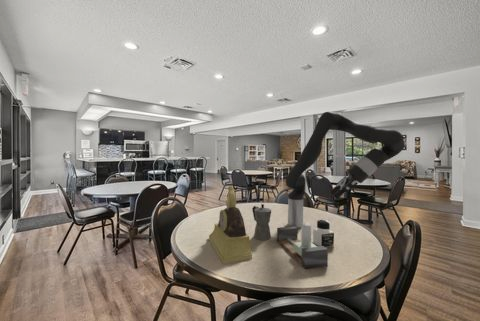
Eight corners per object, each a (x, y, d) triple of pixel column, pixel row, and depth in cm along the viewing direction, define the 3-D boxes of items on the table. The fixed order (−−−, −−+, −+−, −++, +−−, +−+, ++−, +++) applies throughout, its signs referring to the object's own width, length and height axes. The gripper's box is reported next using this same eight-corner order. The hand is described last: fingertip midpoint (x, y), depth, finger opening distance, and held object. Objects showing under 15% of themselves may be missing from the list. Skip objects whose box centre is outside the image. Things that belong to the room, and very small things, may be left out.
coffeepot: (277, 239, 114) (277, 205, 114) (263, 243, 109) (263, 208, 108) (259, 230, 127) (259, 200, 126) (246, 233, 122) (246, 202, 121)
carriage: (293, 249, 96) (293, 222, 96) (309, 247, 98) (309, 221, 97) (302, 257, 88) (302, 228, 88) (319, 255, 90) (320, 227, 90)
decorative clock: (209, 238, 114) (209, 183, 114) (231, 235, 119) (232, 182, 118) (223, 264, 88) (223, 191, 87) (252, 259, 92) (252, 190, 92)
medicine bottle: (321, 248, 103) (321, 223, 103) (312, 242, 110) (313, 219, 110) (334, 246, 105) (334, 222, 105) (324, 240, 112) (325, 218, 111)
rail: (277, 241, 111) (277, 227, 111) (294, 239, 114) (294, 226, 113) (305, 269, 84) (305, 251, 84) (327, 266, 86) (327, 249, 86)
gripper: (350, 163, 99) (324, 187, 102) (360, 164, 85) (329, 191, 88) (363, 174, 98) (336, 198, 101) (375, 177, 84) (343, 205, 87)
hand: (333, 195), depth 94 cm, fingers open, 8 cm apart
